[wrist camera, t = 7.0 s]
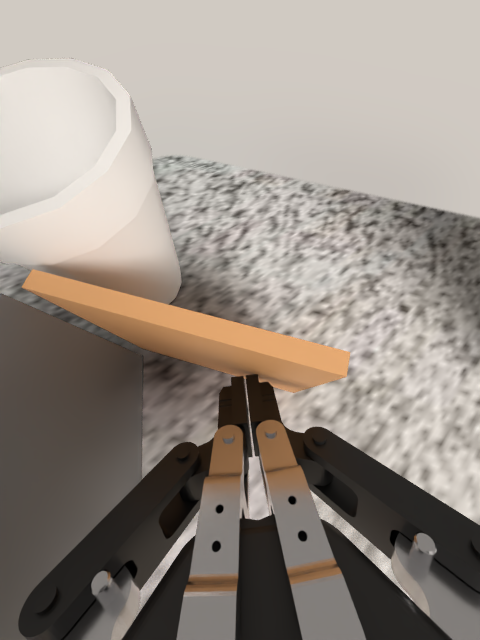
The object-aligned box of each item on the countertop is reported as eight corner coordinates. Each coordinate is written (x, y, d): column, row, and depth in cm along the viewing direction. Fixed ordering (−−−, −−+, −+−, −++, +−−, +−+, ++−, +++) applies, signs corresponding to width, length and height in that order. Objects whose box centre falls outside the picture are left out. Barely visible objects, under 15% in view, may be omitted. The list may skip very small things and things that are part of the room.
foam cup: (205, 238, 24) (151, 55, 11) (193, 334, 21) (103, 231, 8) (106, 236, 24) (-46, 61, 12) (81, 329, 21) (-155, 226, 9)
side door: (146, 339, 20) (32, 269, 10) (296, 381, 19) (350, 352, 8) (142, 348, 20) (21, 287, 10) (293, 392, 18) (346, 376, 8)
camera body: (142, 355, 20) (-16, 285, 8) (140, 539, 16) (-159, 894, 4) (68, 364, 20) (-194, 308, 8) (49, 549, 16) (-482, 924, 5)
